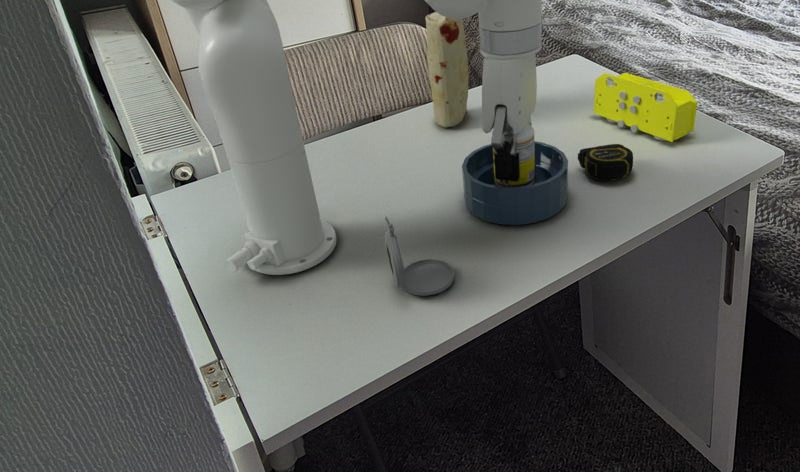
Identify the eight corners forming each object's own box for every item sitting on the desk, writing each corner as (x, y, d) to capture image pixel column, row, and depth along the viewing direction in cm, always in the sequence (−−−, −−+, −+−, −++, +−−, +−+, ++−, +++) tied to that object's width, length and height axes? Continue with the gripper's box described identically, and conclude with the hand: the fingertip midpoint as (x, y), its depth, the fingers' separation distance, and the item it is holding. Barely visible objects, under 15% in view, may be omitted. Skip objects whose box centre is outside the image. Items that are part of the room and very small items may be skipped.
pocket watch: (465, 277, 79) (460, 207, 74) (417, 314, 75) (408, 242, 69) (417, 254, 84) (408, 187, 79) (370, 287, 80) (357, 218, 74)
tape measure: (621, 160, 98) (623, 138, 96) (639, 182, 93) (641, 158, 91) (576, 167, 98) (577, 145, 96) (591, 189, 93) (593, 165, 91)
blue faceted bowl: (541, 237, 84) (541, 197, 81) (447, 214, 92) (443, 177, 88) (582, 186, 94) (583, 148, 90) (493, 169, 101) (491, 134, 98)
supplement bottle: (489, 177, 93) (486, 110, 88) (527, 170, 94) (526, 103, 88) (501, 196, 89) (498, 126, 83) (540, 188, 89) (540, 119, 83)
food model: (464, 132, 113) (456, 16, 102) (427, 131, 115) (415, 17, 104) (475, 109, 121) (469, -1, 110) (440, 109, 123) (431, 0, 112)
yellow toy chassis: (591, 118, 112) (593, 71, 107) (615, 108, 114) (618, 62, 109) (669, 147, 100) (675, 96, 95) (693, 135, 102) (701, 85, 98)
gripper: (500, 17, 88) (505, 139, 98) (458, 61, 75) (468, 196, 85) (556, 16, 85) (555, 142, 95) (522, 63, 72) (524, 203, 82)
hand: (514, 167), depth 90 cm, fingers closed on supplement bottle, 5 cm apart
